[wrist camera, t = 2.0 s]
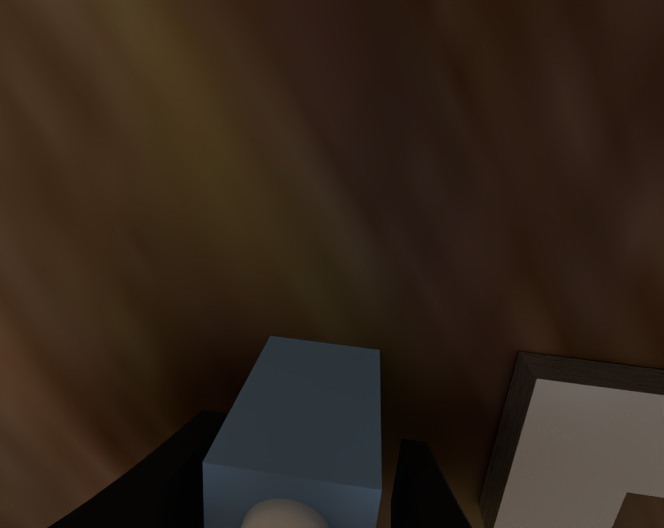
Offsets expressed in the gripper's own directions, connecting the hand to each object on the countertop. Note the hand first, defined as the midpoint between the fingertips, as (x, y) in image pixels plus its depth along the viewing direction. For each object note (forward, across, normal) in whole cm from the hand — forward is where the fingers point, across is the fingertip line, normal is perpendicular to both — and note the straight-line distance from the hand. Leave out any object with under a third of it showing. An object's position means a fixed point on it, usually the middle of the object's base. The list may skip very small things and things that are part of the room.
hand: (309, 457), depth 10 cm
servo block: (+2, 0, 0) cm, 2 cm away
